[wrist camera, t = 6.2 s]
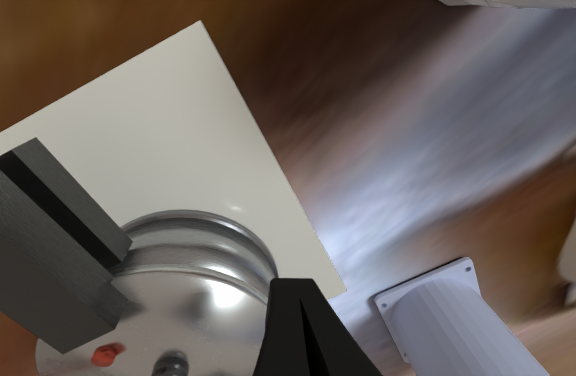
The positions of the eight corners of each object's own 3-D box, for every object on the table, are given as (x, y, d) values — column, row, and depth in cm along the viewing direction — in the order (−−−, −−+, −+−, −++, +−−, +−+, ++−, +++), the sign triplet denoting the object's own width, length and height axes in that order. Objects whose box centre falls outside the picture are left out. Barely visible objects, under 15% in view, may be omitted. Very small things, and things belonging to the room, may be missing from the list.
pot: (320, 327, 25) (335, 388, 21) (187, 384, 26) (175, 453, 22) (153, 73, 15) (117, 90, 11) (-46, 183, 17) (-146, 235, 12)
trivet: (345, 286, 24) (347, 290, 24) (156, 369, 26) (155, 375, 25) (201, 20, 15) (199, 20, 15) (-74, 175, 17) (-83, 179, 16)
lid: (336, 386, 20) (347, 428, 18) (171, 455, 22) (163, 502, 20) (111, 90, 11) (78, 104, 9) (-158, 245, 12) (-242, 290, 10)
